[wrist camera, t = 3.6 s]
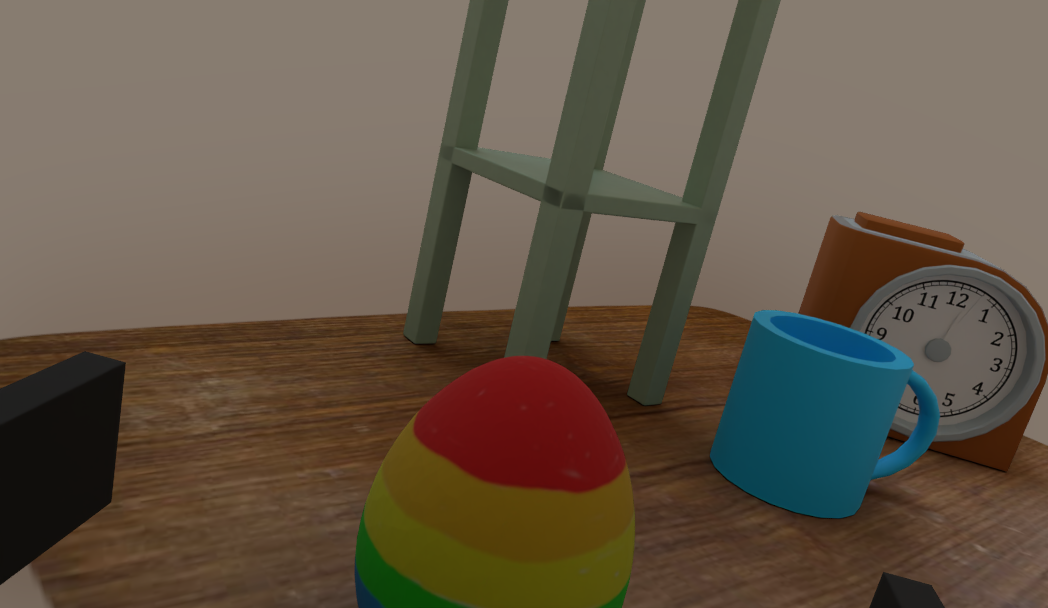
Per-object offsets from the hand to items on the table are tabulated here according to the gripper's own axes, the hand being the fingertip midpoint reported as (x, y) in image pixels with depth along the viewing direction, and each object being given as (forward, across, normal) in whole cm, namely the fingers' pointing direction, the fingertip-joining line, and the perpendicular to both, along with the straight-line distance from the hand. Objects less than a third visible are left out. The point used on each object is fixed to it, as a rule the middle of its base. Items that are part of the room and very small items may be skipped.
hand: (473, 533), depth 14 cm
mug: (+31, +15, -10) cm, 36 cm away
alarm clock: (+46, +23, -10) cm, 53 cm away
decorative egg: (+10, 0, -10) cm, 14 cm away
